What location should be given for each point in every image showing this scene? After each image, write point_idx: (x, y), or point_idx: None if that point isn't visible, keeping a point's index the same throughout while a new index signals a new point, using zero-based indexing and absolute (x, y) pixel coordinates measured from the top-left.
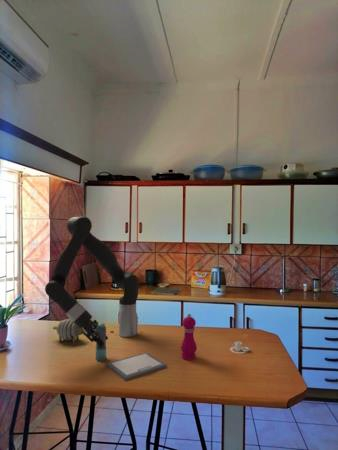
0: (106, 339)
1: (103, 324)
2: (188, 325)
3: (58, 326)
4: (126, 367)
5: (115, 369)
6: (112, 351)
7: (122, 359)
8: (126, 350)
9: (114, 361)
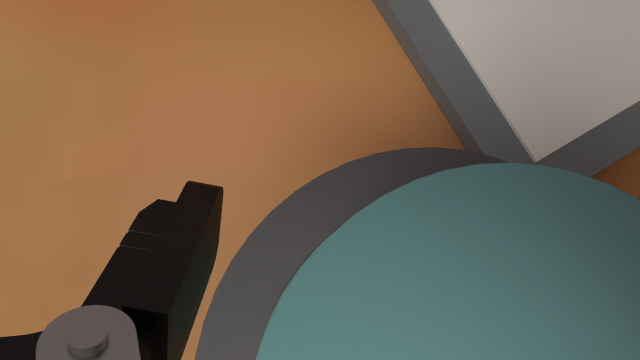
0: (218, 218)
1: (601, 257)
2: None
3: None
4: (637, 9)
5: None
6: (109, 173)
7: (432, 45)
8: (108, 7)
9: (480, 132)
